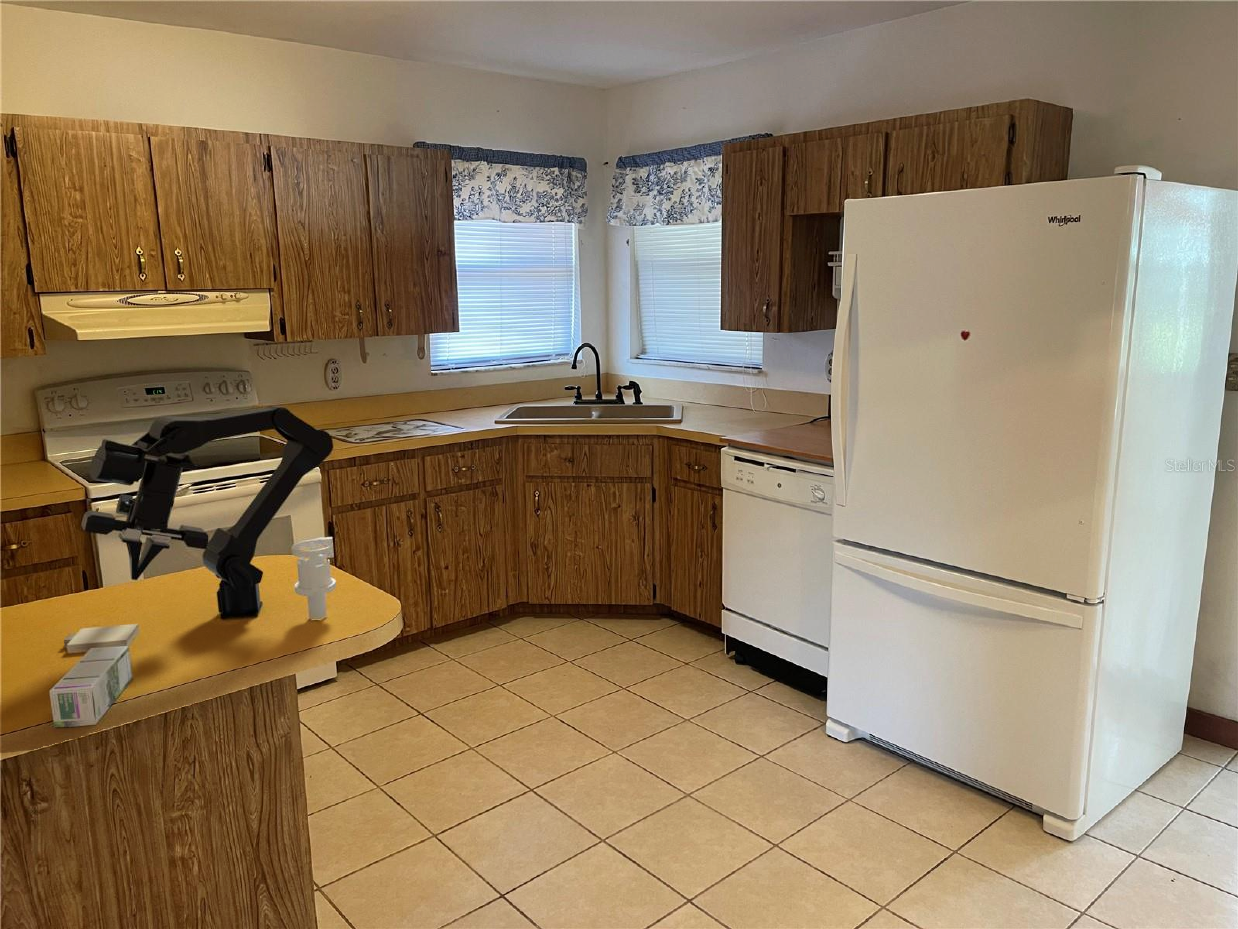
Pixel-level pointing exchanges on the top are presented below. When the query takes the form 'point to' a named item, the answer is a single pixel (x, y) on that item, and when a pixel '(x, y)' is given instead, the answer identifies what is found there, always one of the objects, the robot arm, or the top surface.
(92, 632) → the cream flat tabbed slab
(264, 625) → the top surface
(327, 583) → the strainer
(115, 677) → the syrup box
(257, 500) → the robot arm
